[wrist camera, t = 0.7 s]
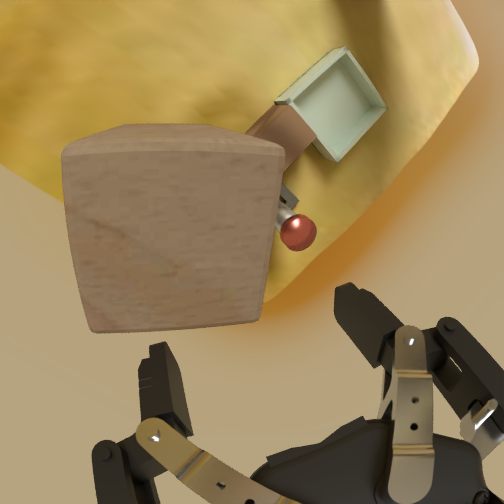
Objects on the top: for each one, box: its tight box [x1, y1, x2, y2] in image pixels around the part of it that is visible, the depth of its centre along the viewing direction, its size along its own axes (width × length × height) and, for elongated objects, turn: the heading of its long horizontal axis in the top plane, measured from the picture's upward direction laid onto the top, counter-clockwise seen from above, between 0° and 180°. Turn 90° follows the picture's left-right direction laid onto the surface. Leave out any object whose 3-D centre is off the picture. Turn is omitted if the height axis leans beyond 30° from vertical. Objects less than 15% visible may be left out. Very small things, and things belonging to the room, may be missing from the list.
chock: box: [245, 105, 317, 172], centre depth 29 cm, size 6×4×5 cm
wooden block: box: [61, 124, 285, 333], centre depth 21 cm, size 10×10×20 cm
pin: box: [275, 200, 317, 251], centre depth 31 cm, size 3×3×10 cm
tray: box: [275, 47, 388, 163], centre depth 30 cm, size 11×10×3 cm
